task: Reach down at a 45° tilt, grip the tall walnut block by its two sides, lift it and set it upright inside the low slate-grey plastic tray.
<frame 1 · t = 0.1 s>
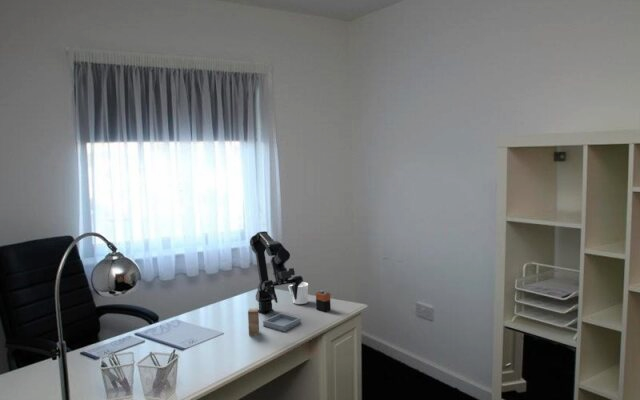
hand: (286, 301, 213), 15 cm above the table, tool tilted 30°, fingers open, 9 cm apart
mug: (298, 303, 255), on the table
walnut block: (254, 333, 214), on the table
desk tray: (282, 324, 224), on the table
battery: (323, 310, 243), on the table
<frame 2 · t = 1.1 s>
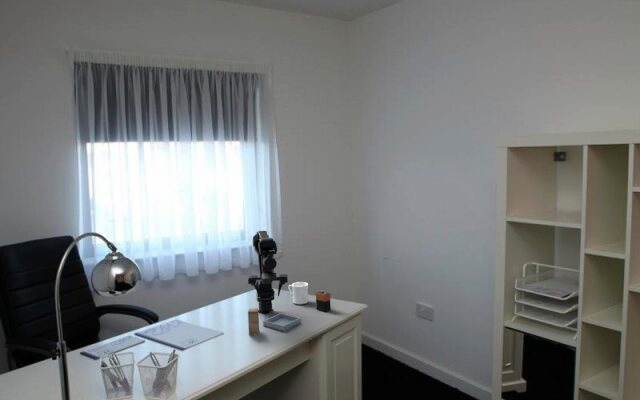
hand: (268, 296, 226), 13 cm above the table, tool pointing down, fingers open, 9 cm apart
nothing on the table moved.
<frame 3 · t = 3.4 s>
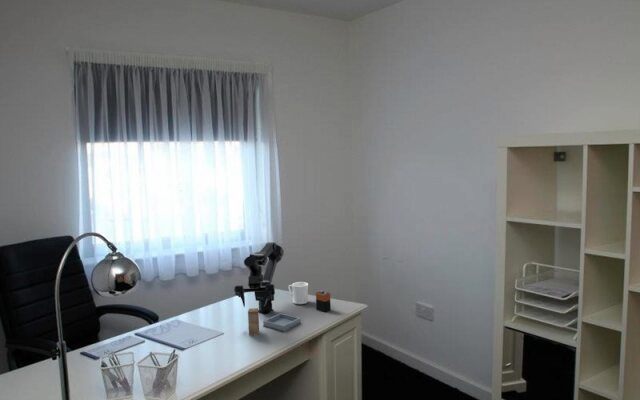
hand: (254, 306, 217), 11 cm above the table, tool tilted 45°, fingers open, 9 cm apart
nothing on the table moved.
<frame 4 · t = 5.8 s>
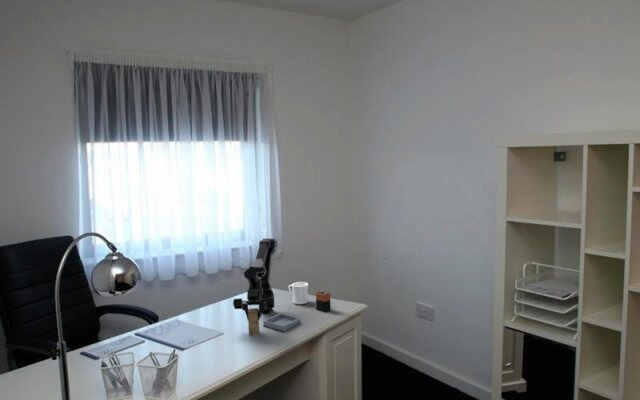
hand: (253, 320, 212), 7 cm above the table, tool tilted 45°, fingers closed on walnut block, 4 cm apart
walnut block: (254, 333, 214), on the table, touching gripper
everything else where it was.
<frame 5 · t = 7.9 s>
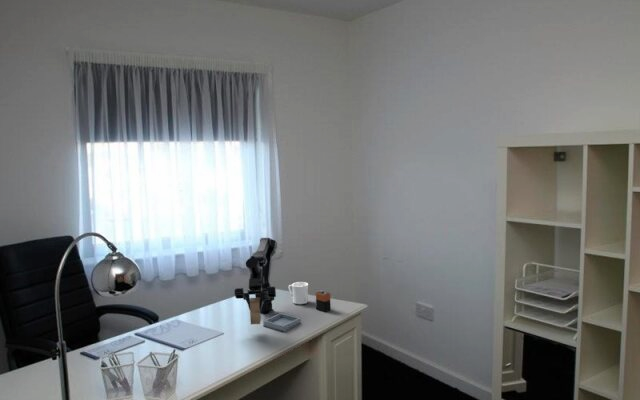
hand: (254, 309, 212), 12 cm above the table, tool tilted 45°, fingers closed on walnut block, 4 cm apart
walnut block: (255, 322, 214), point 5 cm above the table, touching gripper
everything else where it was.
when the fingers open (9 cm above the table, at t = 10.5 s): walnut block drops 1 cm, resting on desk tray.
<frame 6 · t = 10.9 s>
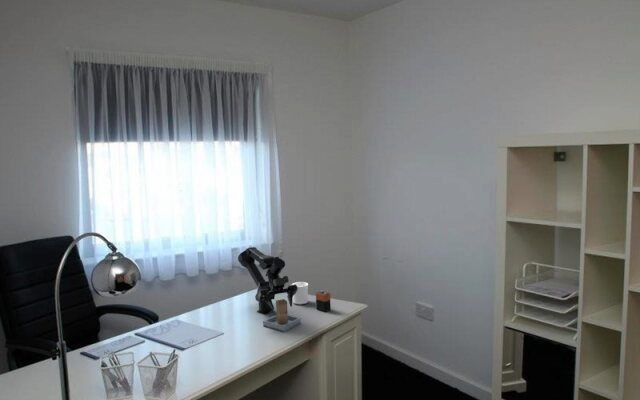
hand: (282, 307, 222), 9 cm above the table, tool tilted 45°, fingers open, 9 cm apart
walnut block: (282, 323, 224), point 1 cm above the table, touching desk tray
everything else where it was.
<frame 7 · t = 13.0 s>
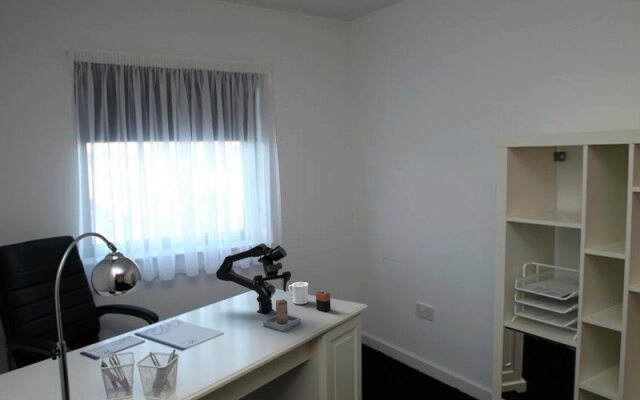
hand: (276, 293, 228), 14 cm above the table, tool tilted 45°, fingers open, 9 cm apart
nothing on the table moved.
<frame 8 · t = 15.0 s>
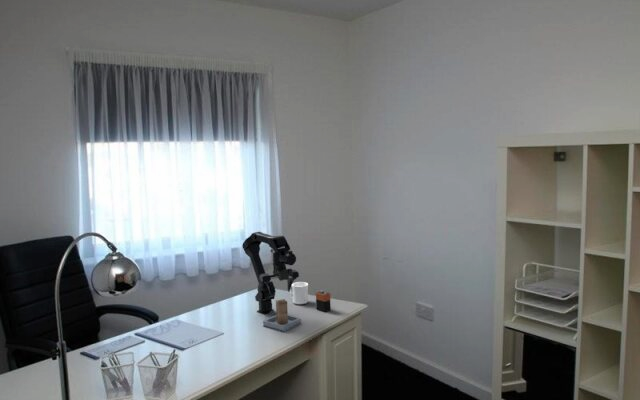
hand: (279, 292, 231), 13 cm above the table, tool pointing down, fingers open, 9 cm apart
nothing on the table moved.
at the end: walnut block inside the target area on the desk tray (0.1 cm from its centre), point 0.6 cm above the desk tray's base; walnut block tilted 0°; the gripper is holding nothing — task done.
